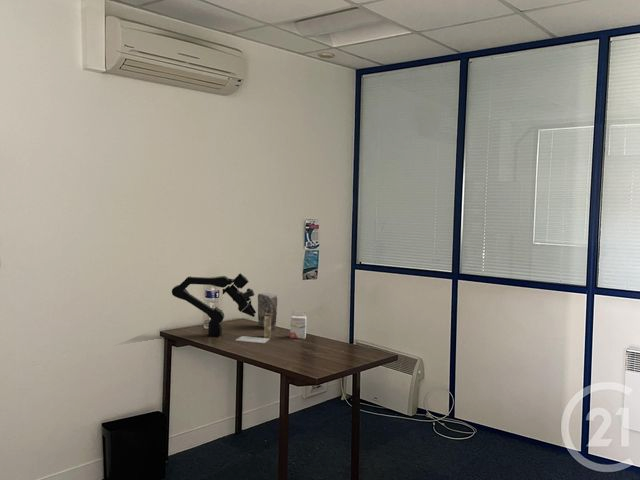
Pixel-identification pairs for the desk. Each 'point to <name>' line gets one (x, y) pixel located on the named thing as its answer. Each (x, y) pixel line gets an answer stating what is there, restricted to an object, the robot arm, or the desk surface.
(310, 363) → the desk surface
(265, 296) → the stone block
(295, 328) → the ink cartridge box
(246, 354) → the desk surface
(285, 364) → the desk surface
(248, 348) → the desk surface
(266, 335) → the birch block
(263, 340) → the grey board
